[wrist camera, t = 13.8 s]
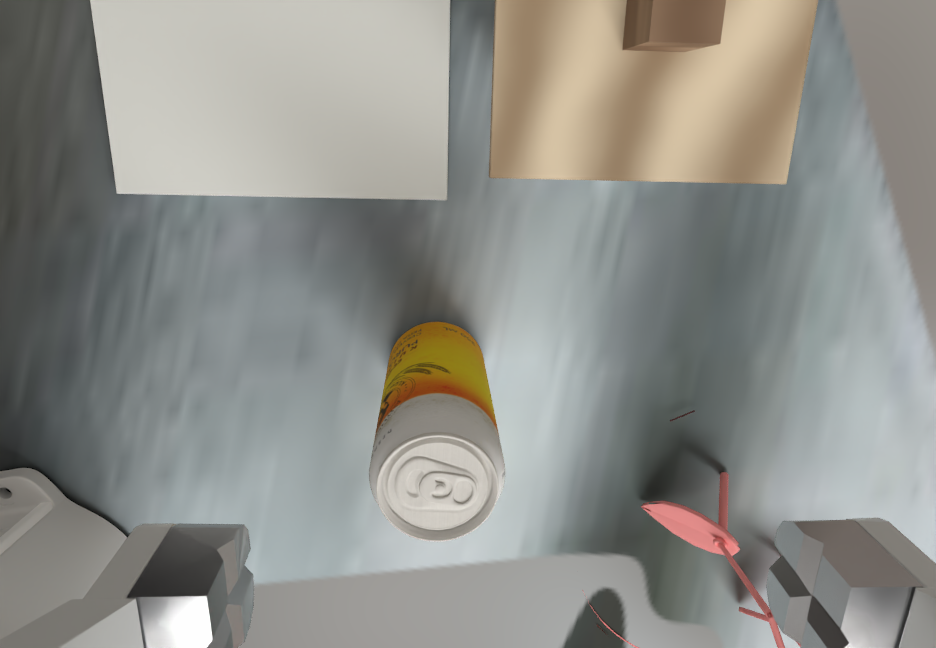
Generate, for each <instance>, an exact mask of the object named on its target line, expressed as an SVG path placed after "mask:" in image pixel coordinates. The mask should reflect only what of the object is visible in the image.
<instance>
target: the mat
mask: <svg viewBox="0 0 936 648" xmlns="http://www.w3.org/2000/svg"><path fill="white" fill-rule="evenodd" d="M90 3H91V10H92V17H93V24H94V31H95V39H96V46H97V53H98V60H99V67H100V75H101V82H102V89H103V96H104V104H105V111H106V118H107V125H108V132H109V140H110V147H111V154H112V161H113V169H114V176H115V183H116V190H117V194H163V195H213V196H262V197H312V198H362V199H412V200H447V166H448V104H449V42H450V0H90Z"/></svg>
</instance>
